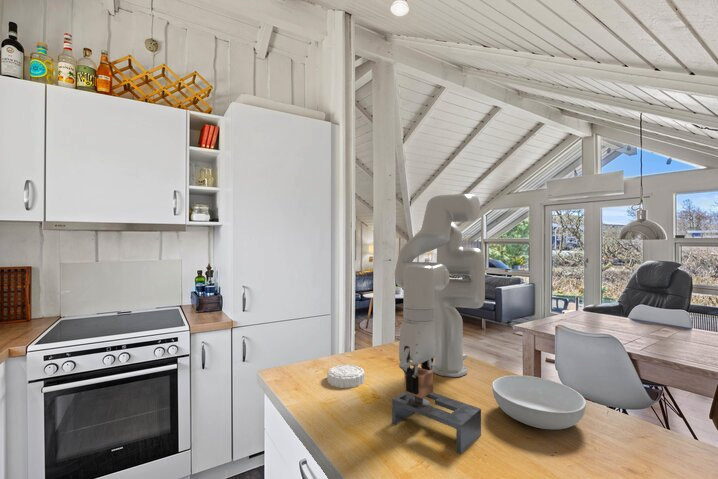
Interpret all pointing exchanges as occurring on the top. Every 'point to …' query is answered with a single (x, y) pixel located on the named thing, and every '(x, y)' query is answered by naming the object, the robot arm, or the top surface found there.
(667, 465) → the top surface
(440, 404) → the keyhole bracket
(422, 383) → the keyhole peg
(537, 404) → the serving bowl
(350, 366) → the mooncake
